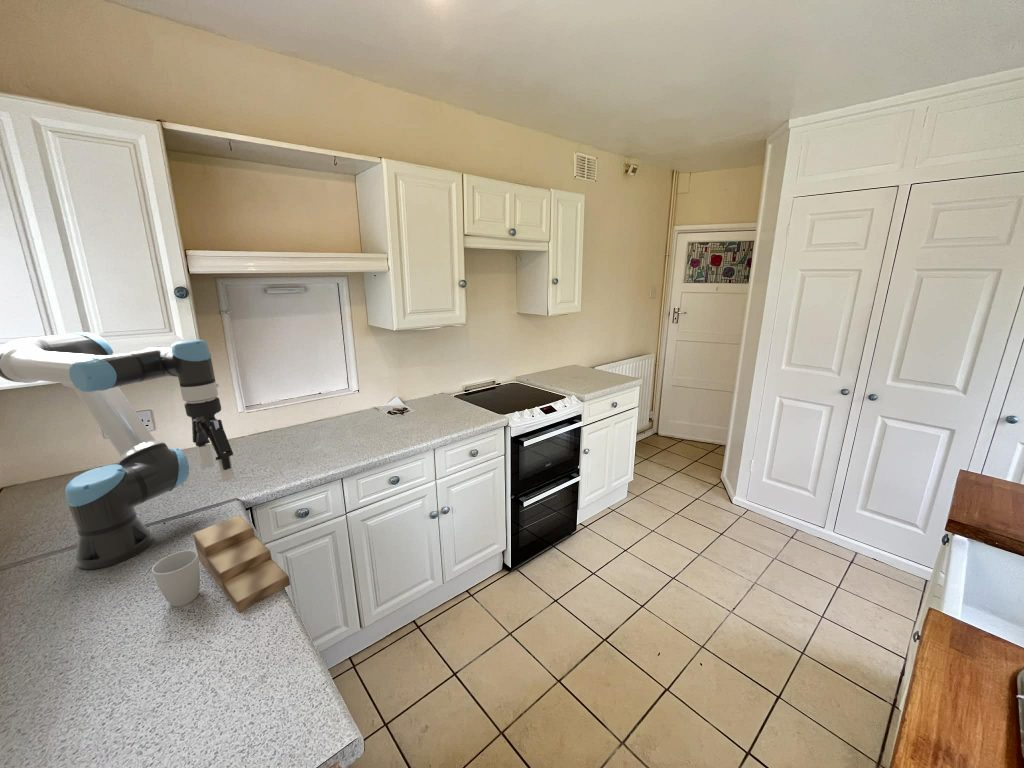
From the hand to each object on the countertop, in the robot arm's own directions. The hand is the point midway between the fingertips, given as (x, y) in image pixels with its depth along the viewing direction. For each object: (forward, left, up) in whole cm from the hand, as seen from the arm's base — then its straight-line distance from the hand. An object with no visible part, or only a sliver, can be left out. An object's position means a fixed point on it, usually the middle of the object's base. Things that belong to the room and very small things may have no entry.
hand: (217, 473), depth 114 cm
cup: (-15, -18, -21) cm, 31 cm away
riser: (-3, -18, -20) cm, 27 cm away
